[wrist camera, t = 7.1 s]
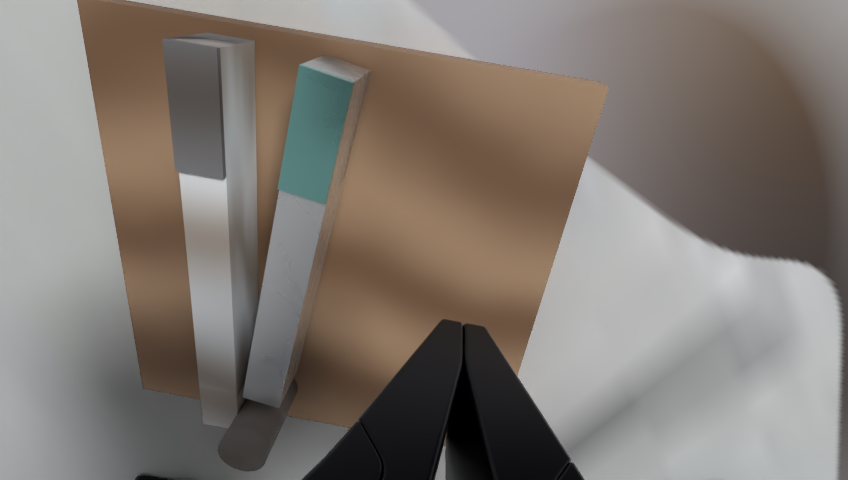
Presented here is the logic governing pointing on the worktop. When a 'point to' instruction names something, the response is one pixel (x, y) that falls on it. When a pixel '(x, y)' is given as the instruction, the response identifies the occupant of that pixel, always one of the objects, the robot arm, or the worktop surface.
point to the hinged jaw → (303, 218)
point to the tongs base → (356, 214)
